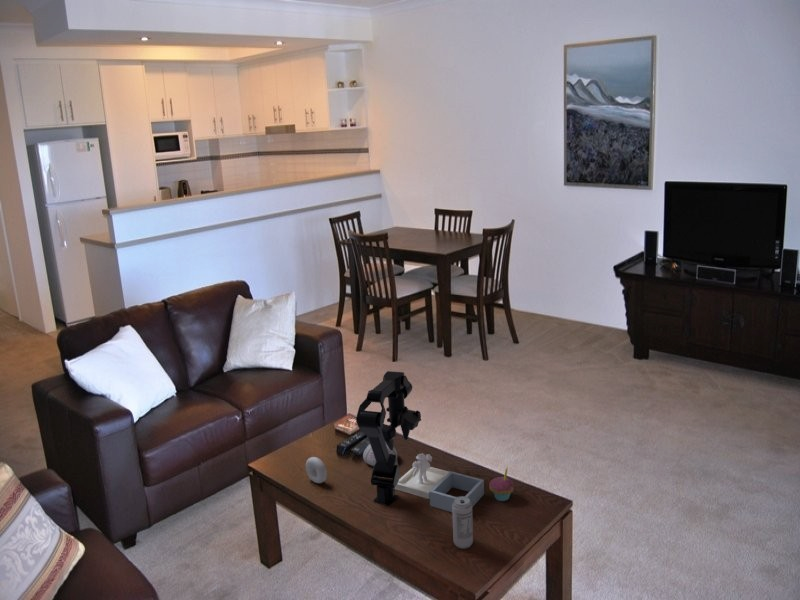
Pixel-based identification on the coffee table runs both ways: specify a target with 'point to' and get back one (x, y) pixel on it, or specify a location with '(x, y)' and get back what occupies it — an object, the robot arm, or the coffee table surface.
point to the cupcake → (502, 487)
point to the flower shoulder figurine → (422, 467)
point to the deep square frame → (460, 482)
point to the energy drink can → (462, 522)
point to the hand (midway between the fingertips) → (398, 444)
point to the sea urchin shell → (369, 455)
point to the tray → (411, 486)
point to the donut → (321, 471)
